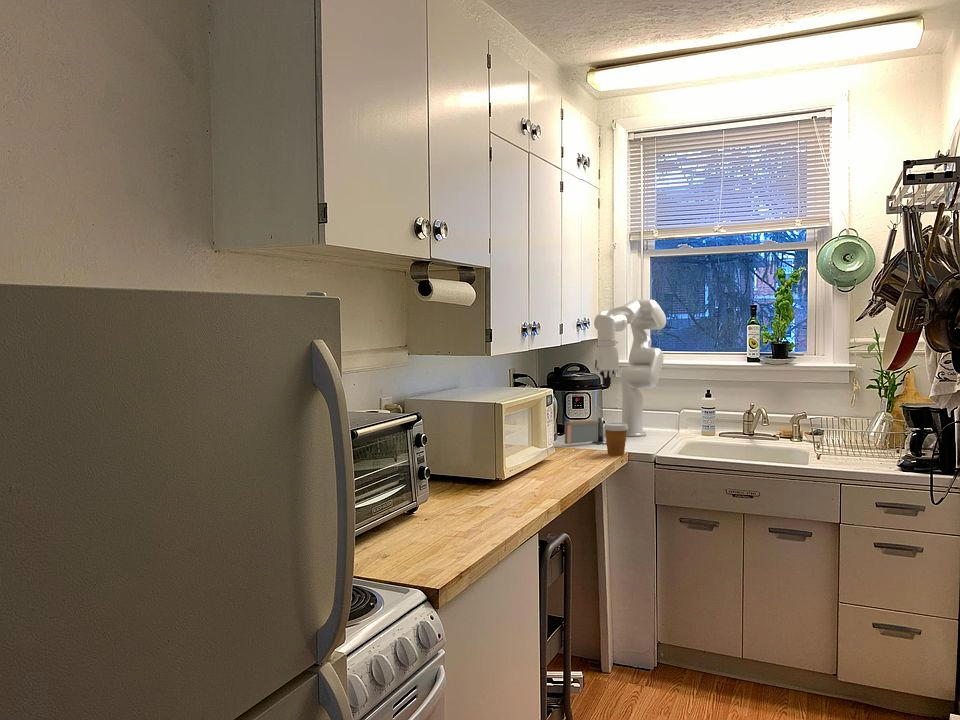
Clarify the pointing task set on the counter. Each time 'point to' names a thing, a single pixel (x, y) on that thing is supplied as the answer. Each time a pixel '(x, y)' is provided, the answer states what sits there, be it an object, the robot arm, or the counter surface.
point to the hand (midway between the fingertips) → (606, 386)
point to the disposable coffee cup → (616, 438)
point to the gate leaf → (581, 431)
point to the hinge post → (600, 433)
